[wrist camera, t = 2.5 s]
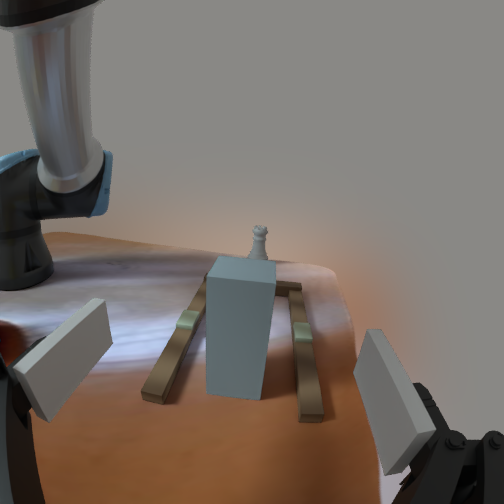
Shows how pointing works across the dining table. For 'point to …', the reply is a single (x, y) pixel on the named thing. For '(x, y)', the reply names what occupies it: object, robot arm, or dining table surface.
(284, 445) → the dining table surface
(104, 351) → the robot arm
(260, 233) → the rook chess piece
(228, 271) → the blue-grey tall rectangular block
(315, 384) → the brown u-shaped frame
